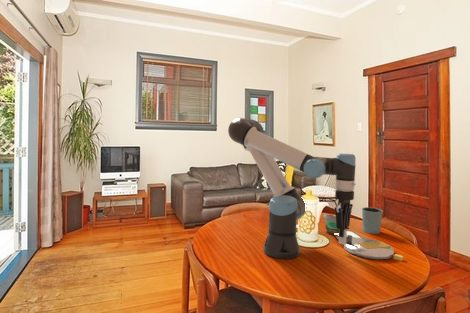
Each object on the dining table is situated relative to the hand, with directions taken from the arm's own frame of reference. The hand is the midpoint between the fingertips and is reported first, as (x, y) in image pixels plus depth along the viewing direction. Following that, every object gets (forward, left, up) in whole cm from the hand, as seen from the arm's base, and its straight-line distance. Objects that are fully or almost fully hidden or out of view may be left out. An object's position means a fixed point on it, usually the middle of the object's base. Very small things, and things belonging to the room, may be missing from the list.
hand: (342, 243), depth 125 cm
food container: (-13, +20, -4) cm, 24 cm away
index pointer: (+19, +10, -4) cm, 22 cm away
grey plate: (+7, +10, -4) cm, 13 cm away
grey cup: (-2, +40, -4) cm, 41 cm away
